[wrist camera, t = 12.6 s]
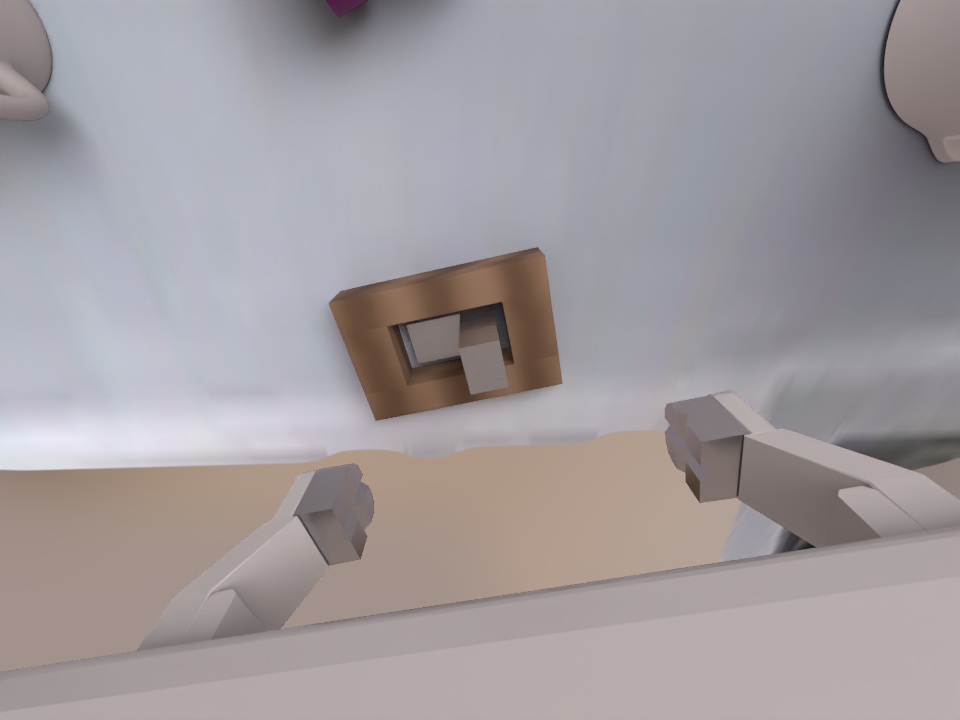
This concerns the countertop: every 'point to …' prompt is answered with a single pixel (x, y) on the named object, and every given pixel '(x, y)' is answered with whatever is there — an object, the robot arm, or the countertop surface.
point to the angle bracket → (463, 345)
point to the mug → (23, 62)
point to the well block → (383, 305)
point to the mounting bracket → (344, 5)
